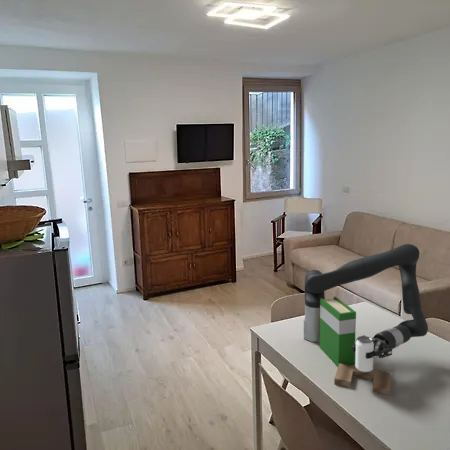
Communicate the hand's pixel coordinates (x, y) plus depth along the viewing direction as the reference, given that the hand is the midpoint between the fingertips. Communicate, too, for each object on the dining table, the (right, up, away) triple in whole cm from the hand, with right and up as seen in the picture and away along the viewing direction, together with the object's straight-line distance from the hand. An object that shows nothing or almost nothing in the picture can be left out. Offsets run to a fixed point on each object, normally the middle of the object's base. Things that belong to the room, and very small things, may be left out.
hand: (359, 352), depth 154 cm
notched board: (+3, -13, +6) cm, 15 cm away
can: (+2, -7, +3) cm, 8 cm away
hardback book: (-2, -10, +25) cm, 27 cm away
